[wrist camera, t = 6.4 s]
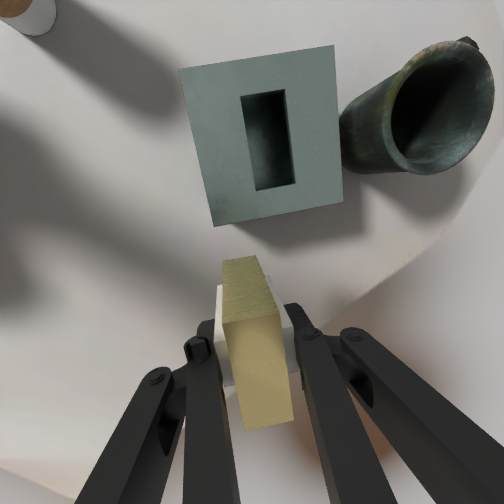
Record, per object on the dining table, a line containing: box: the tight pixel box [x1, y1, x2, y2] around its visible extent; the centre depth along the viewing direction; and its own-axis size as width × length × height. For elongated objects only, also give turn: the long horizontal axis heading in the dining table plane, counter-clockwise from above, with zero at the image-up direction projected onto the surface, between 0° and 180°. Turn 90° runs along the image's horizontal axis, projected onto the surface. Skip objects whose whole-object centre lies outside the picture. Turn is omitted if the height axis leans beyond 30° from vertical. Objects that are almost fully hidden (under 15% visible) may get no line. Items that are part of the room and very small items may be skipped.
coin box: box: [178, 45, 344, 227], centre depth 28 cm, size 14×14×10 cm
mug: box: [339, 36, 495, 175], centre depth 28 cm, size 11×15×12 cm
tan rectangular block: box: [222, 255, 294, 431], centre depth 14 cm, size 2×6×8 cm, turn 9°
